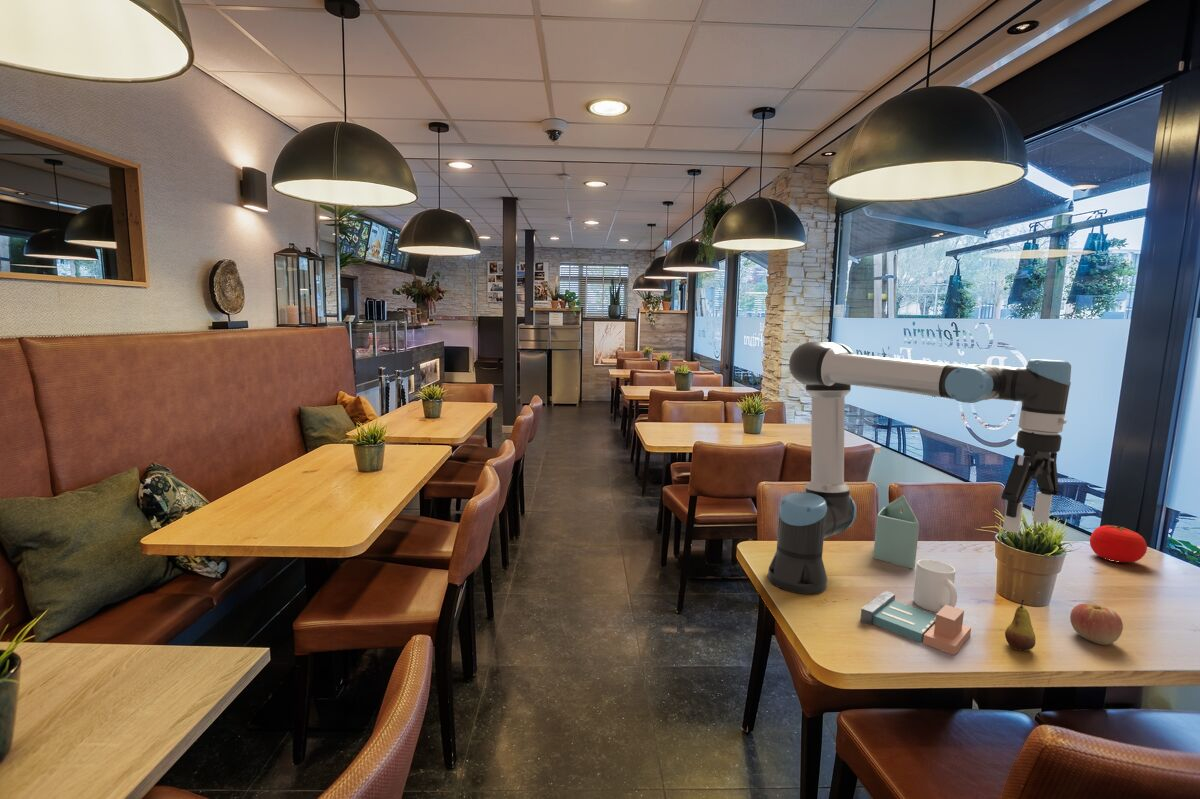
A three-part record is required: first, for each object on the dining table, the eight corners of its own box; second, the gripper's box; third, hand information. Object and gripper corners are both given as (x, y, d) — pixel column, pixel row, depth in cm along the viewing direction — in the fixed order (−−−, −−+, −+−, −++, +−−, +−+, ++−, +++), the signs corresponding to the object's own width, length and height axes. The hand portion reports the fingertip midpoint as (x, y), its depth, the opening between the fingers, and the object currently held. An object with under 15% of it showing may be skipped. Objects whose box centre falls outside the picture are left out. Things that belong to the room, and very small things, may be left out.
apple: (1106, 653, 122) (1111, 619, 121) (1059, 633, 130) (1064, 600, 129) (1128, 646, 126) (1133, 612, 125) (1081, 626, 134) (1086, 594, 133)
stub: (923, 643, 124) (926, 615, 123) (940, 625, 132) (943, 599, 131) (954, 655, 119) (957, 626, 119) (970, 635, 128) (973, 609, 127)
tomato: (1090, 549, 185) (1095, 517, 183) (1145, 562, 175) (1151, 528, 174) (1084, 558, 177) (1089, 524, 175) (1142, 572, 167) (1147, 536, 166)
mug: (969, 621, 134) (974, 580, 133) (935, 621, 134) (940, 579, 133) (936, 597, 146) (941, 559, 145) (906, 597, 146) (910, 559, 145)
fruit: (1042, 655, 121) (1049, 602, 119) (1016, 655, 120) (1024, 602, 119) (1020, 640, 126) (1027, 590, 125) (996, 641, 126) (1003, 590, 124)
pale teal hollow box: (858, 547, 179) (864, 487, 177) (881, 547, 180) (887, 487, 178) (889, 569, 163) (896, 503, 161) (915, 569, 164) (922, 503, 162)
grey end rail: (860, 621, 132) (861, 608, 132) (883, 602, 142) (885, 590, 142) (870, 625, 131) (872, 612, 130) (894, 606, 140) (895, 594, 140)
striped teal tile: (861, 619, 133) (861, 610, 133) (880, 603, 142) (881, 595, 141) (921, 642, 124) (922, 633, 124) (938, 624, 132) (939, 615, 132)
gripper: (1032, 438, 112) (1017, 541, 114) (1086, 431, 124) (1071, 523, 127) (991, 431, 118) (978, 529, 121) (1045, 425, 131) (1032, 513, 134)
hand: (1025, 526), depth 124 cm, fingers open, 13 cm apart
